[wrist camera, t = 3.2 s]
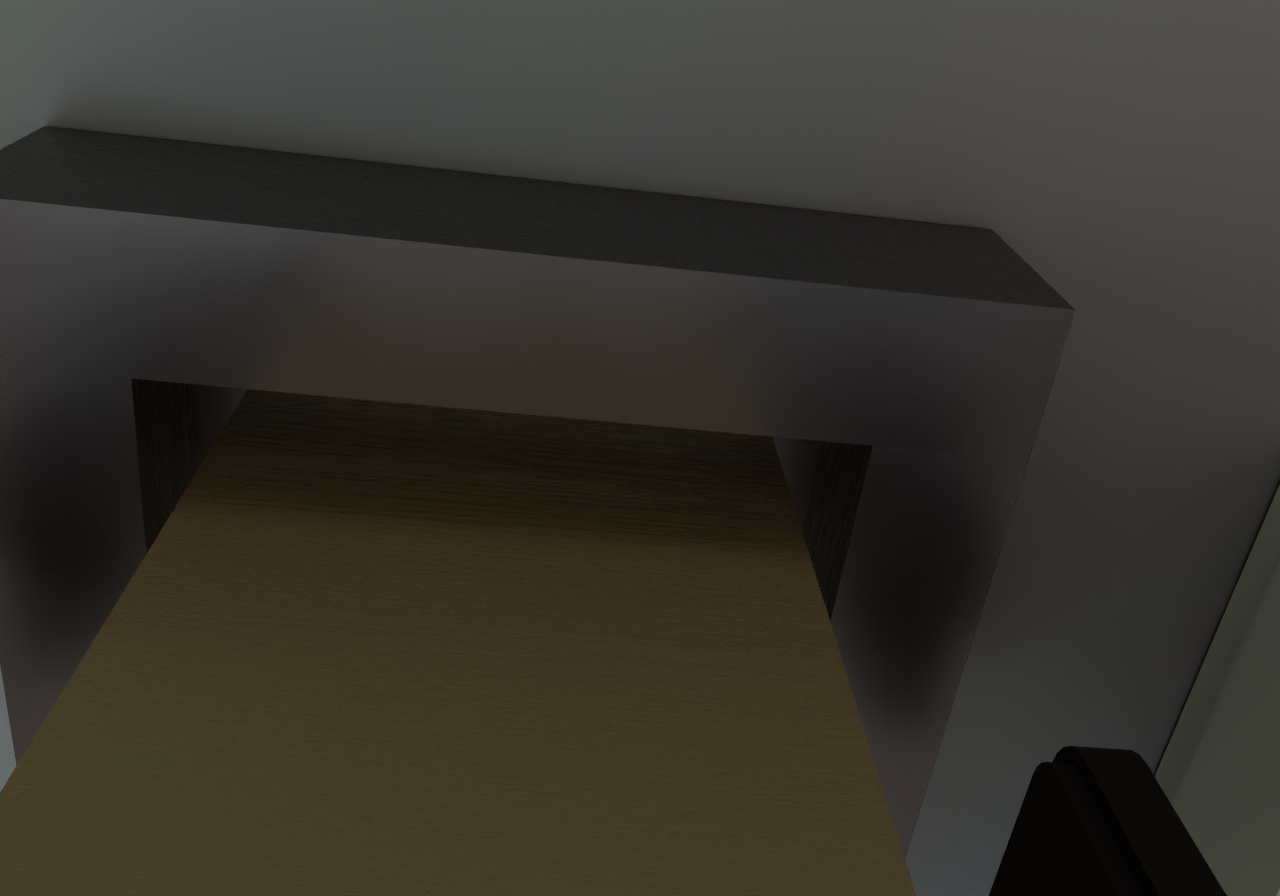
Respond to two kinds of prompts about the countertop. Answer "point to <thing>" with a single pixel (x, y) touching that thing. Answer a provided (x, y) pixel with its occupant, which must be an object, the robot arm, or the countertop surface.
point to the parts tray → (1236, 733)
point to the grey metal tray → (511, 371)
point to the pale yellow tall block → (460, 676)
